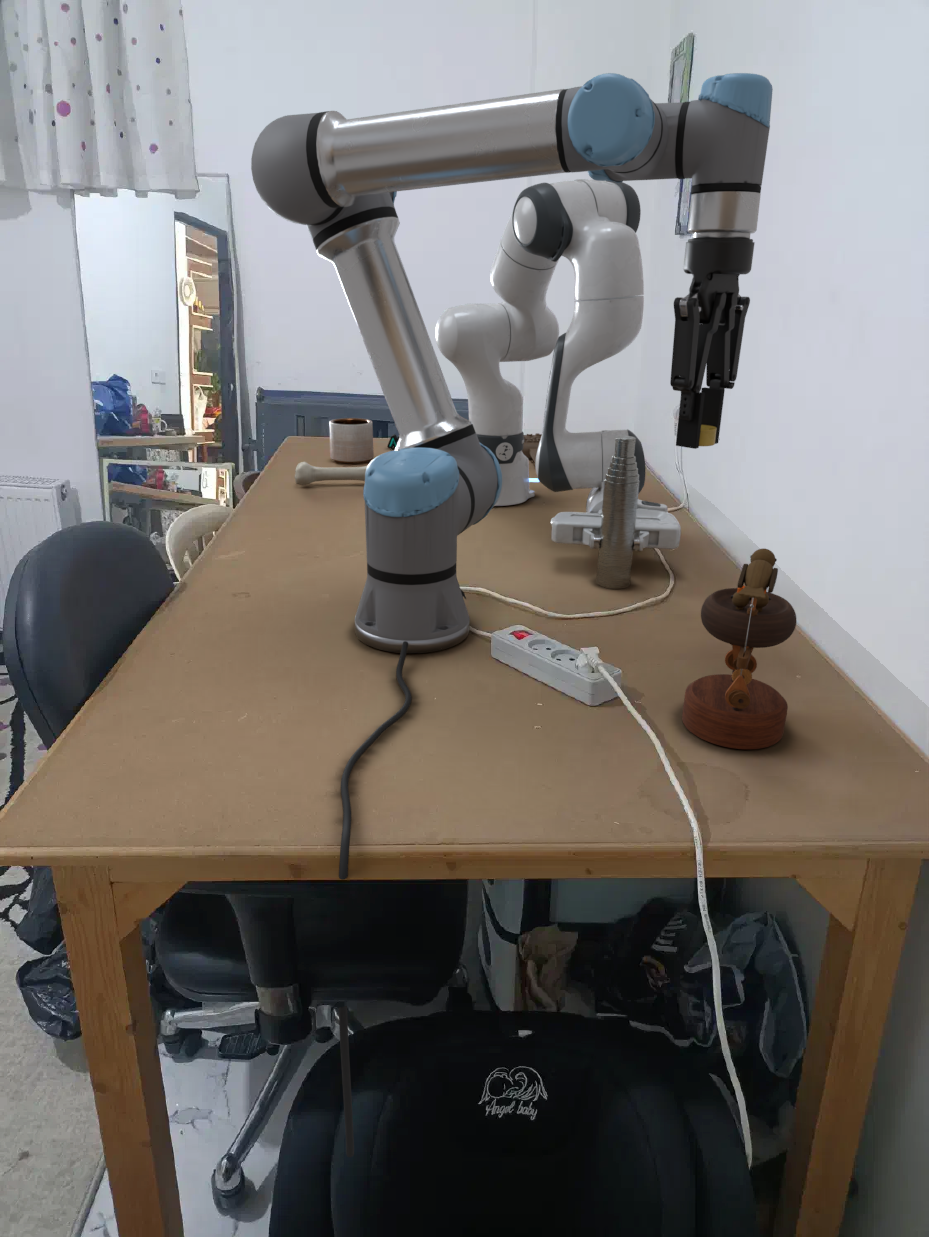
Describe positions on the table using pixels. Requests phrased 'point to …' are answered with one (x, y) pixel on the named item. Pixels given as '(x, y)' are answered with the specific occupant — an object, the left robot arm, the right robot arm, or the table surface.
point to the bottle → (618, 516)
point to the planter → (351, 440)
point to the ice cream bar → (531, 445)
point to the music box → (742, 662)
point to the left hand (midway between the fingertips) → (697, 444)
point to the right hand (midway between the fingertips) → (617, 544)
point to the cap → (707, 435)
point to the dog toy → (327, 473)
